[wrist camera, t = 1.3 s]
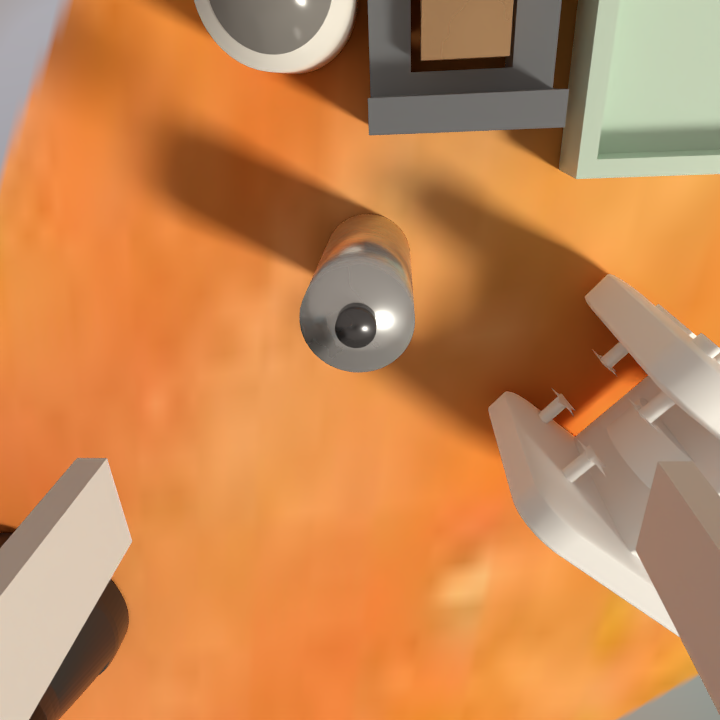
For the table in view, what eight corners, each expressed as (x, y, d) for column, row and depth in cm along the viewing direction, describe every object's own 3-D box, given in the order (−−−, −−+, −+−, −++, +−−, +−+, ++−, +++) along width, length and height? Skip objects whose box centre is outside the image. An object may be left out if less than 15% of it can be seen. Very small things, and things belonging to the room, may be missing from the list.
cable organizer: (468, 386, 33) (501, 522, 23) (604, 252, 29) (718, 346, 19) (635, 509, 37) (728, 676, 26) (778, 405, 33) (954, 555, 22)
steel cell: (329, 296, 31) (302, 382, 22) (323, 215, 29) (290, 273, 20) (410, 295, 31) (415, 381, 22) (410, 212, 29) (415, 270, 20)
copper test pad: (420, 61, 24) (421, 60, 23) (420, -41, 22) (421, -47, 21) (505, 56, 23) (509, 55, 22) (512, -47, 22) (517, -53, 21)
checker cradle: (373, 127, 27) (368, 136, 23) (366, -105, 23) (359, -151, 18) (538, 120, 26) (567, 128, 22) (561, -120, 22) (602, -170, 18)
